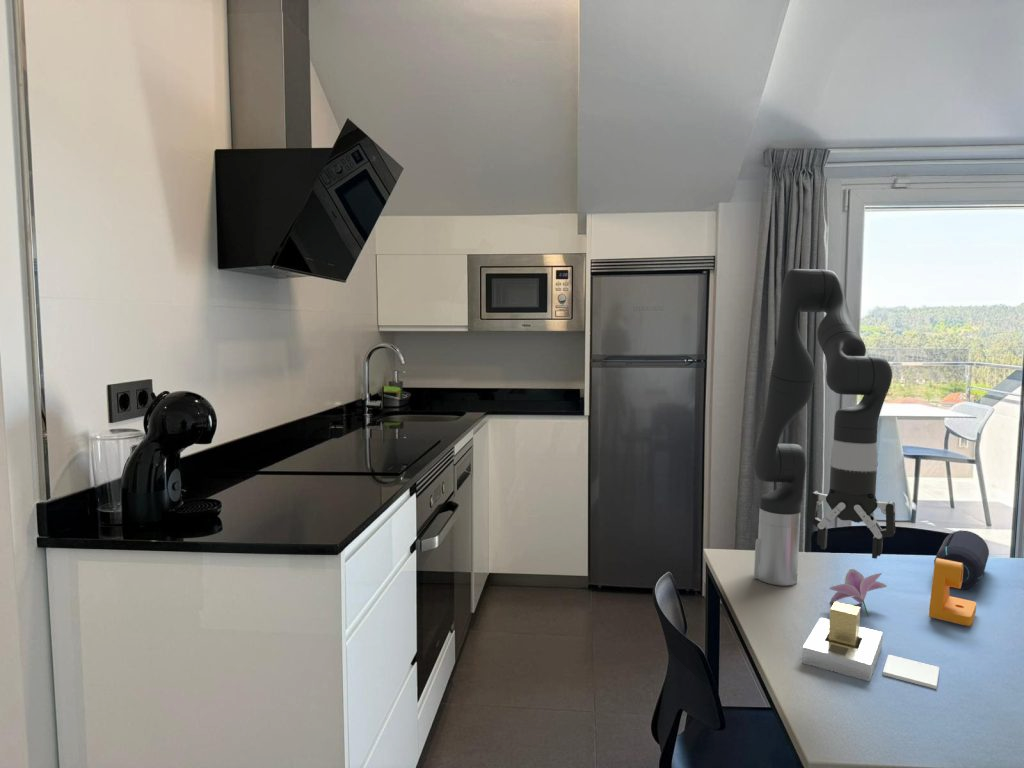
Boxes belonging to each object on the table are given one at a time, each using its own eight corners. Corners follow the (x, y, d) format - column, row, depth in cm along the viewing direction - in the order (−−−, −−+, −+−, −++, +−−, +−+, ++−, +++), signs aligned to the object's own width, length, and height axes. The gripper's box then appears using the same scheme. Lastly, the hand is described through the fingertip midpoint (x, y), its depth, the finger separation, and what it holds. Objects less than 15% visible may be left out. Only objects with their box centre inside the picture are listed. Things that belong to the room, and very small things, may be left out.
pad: (882, 674, 119) (882, 671, 119) (888, 657, 125) (888, 654, 125) (936, 689, 114) (936, 685, 114) (939, 670, 121) (939, 667, 121)
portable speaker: (943, 560, 182) (945, 523, 181) (988, 569, 175) (991, 531, 175) (930, 587, 162) (933, 546, 161) (981, 597, 156) (984, 555, 155)
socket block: (801, 662, 123) (802, 645, 122) (819, 631, 136) (820, 616, 136) (869, 681, 116) (870, 663, 116) (881, 647, 129) (882, 631, 129)
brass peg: (827, 656, 126) (830, 609, 125) (832, 647, 129) (834, 601, 128) (854, 663, 123) (856, 615, 122) (857, 654, 127) (860, 607, 126)
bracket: (969, 630, 138) (973, 572, 137) (928, 620, 143) (932, 564, 142) (976, 614, 146) (980, 559, 145) (937, 605, 151) (940, 552, 150)
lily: (895, 614, 148) (880, 569, 152) (898, 611, 138) (882, 564, 142) (836, 622, 152) (824, 578, 156) (835, 620, 142) (821, 573, 146)
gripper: (807, 463, 124) (803, 550, 126) (896, 473, 116) (890, 566, 117) (815, 458, 131) (811, 540, 132) (900, 467, 122) (895, 555, 124)
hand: (848, 552), depth 125 cm, fingers open, 8 cm apart
